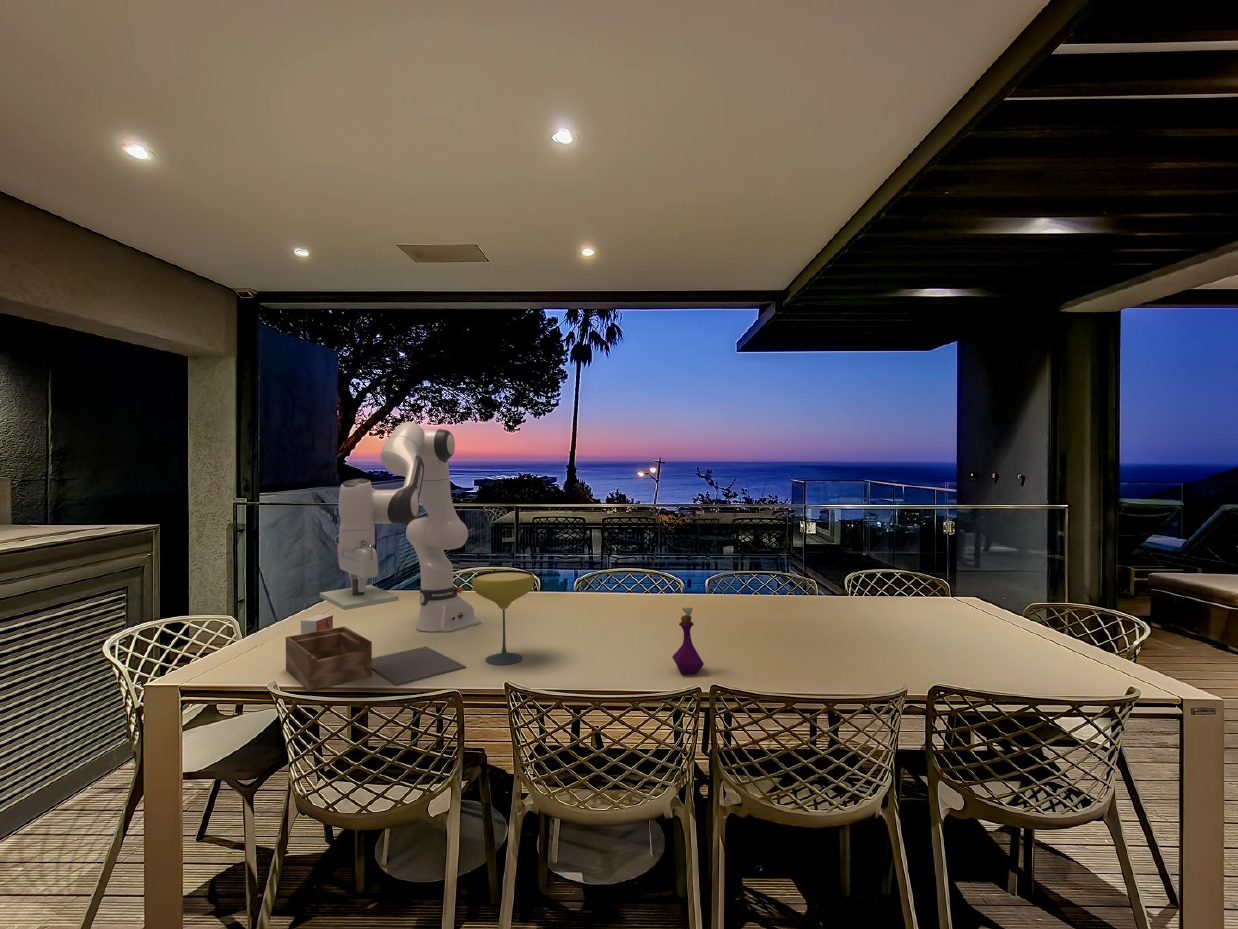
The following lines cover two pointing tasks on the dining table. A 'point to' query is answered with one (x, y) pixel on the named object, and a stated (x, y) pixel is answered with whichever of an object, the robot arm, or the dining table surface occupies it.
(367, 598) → the lid
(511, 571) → the cocktail glass
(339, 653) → the walnut box
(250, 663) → the dining table surface
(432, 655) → the mat
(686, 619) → the perfume bottle
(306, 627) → the small box
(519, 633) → the dining table surface
